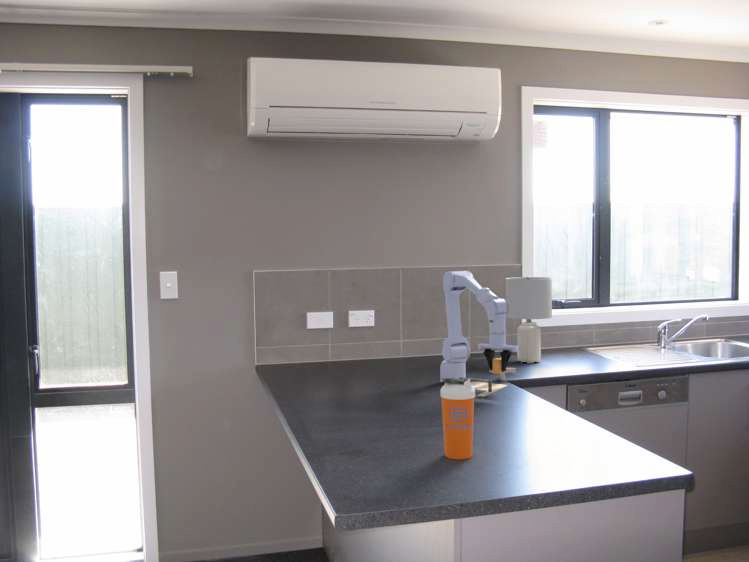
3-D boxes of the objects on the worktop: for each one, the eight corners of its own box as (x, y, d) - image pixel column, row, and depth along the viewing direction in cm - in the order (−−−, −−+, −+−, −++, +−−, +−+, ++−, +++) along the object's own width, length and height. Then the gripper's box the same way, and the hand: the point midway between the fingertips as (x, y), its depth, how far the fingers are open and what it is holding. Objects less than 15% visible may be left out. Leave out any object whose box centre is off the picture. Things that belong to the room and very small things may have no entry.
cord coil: (490, 373, 250) (490, 359, 250) (495, 371, 254) (494, 358, 254) (501, 374, 248) (501, 360, 248) (505, 372, 252) (505, 358, 252)
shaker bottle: (438, 451, 186) (437, 376, 185) (471, 449, 187) (470, 375, 185) (444, 461, 177) (443, 383, 176) (479, 460, 178) (478, 381, 177)
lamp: (501, 359, 329) (500, 276, 327) (542, 357, 331) (542, 275, 329) (514, 366, 309) (513, 278, 307) (558, 364, 311) (558, 277, 309)
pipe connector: (515, 385, 268) (515, 359, 267) (489, 385, 270) (489, 359, 269) (515, 380, 277) (515, 355, 277) (490, 380, 279) (490, 355, 279)
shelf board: (448, 395, 253) (447, 381, 253) (475, 384, 271) (474, 371, 271) (483, 399, 245) (483, 384, 245) (508, 388, 264) (508, 374, 263)
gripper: (474, 333, 251) (474, 370, 252) (512, 335, 243) (512, 374, 244) (482, 330, 257) (482, 367, 257) (520, 332, 249) (520, 370, 250)
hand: (497, 370), depth 251 cm, fingers closed on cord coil, 4 cm apart
